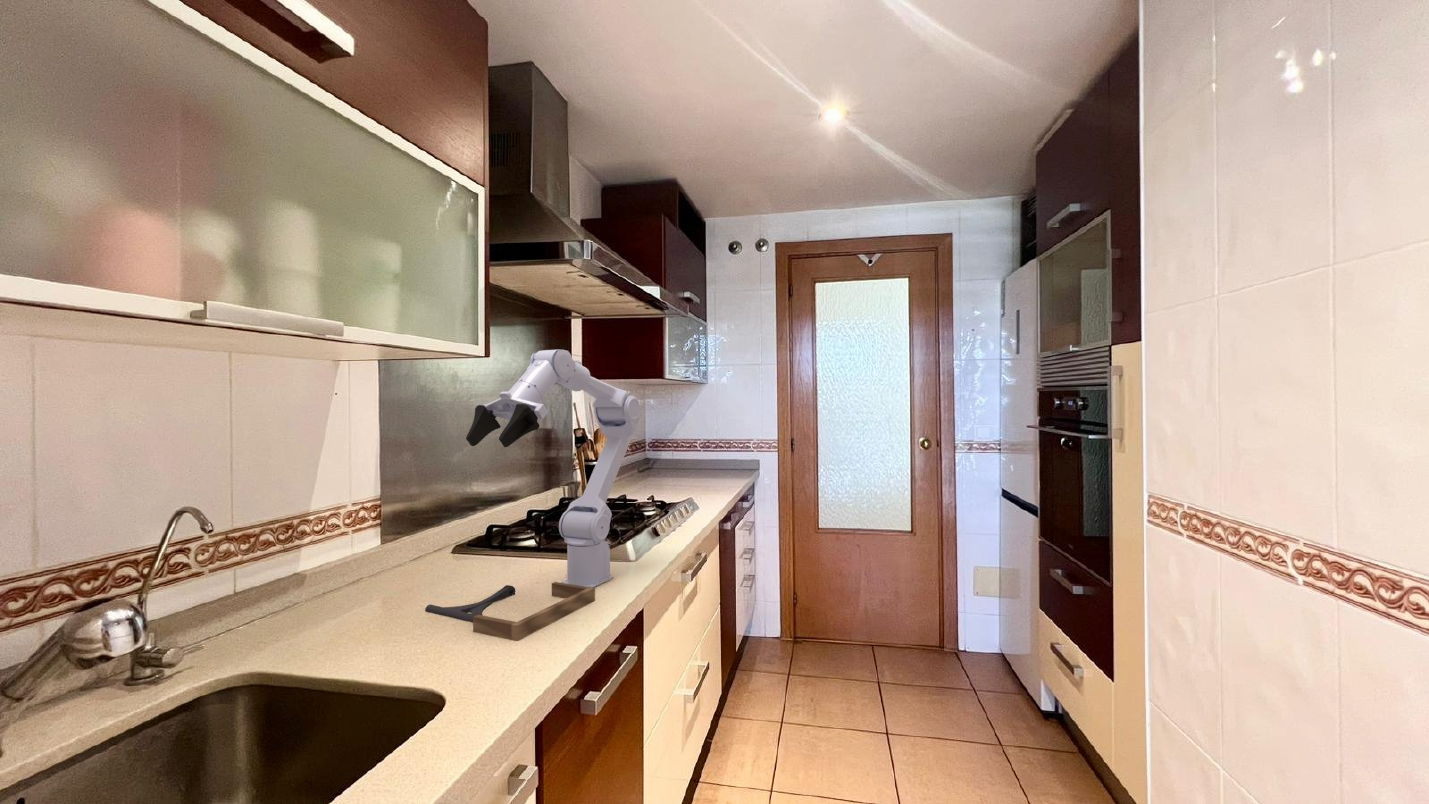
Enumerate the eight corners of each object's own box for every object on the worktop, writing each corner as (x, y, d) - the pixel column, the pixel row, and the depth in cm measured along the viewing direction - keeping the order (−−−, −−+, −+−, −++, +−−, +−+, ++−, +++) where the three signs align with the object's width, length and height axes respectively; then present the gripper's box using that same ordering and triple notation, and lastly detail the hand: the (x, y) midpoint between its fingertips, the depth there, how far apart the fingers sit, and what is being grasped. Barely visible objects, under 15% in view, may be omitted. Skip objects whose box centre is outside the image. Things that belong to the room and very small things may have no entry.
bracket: (539, 602, 115) (539, 588, 115) (479, 627, 102) (478, 611, 102) (488, 592, 121) (488, 579, 121) (425, 615, 108) (424, 600, 108)
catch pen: (555, 594, 118) (555, 581, 118) (595, 600, 114) (595, 587, 114) (473, 631, 98) (473, 616, 98) (517, 640, 94) (517, 625, 94)
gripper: (488, 377, 110) (443, 425, 101) (548, 375, 104) (506, 426, 95) (506, 405, 114) (464, 453, 105) (565, 404, 108) (526, 456, 99)
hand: (486, 442), depth 100 cm, fingers open, 7 cm apart
